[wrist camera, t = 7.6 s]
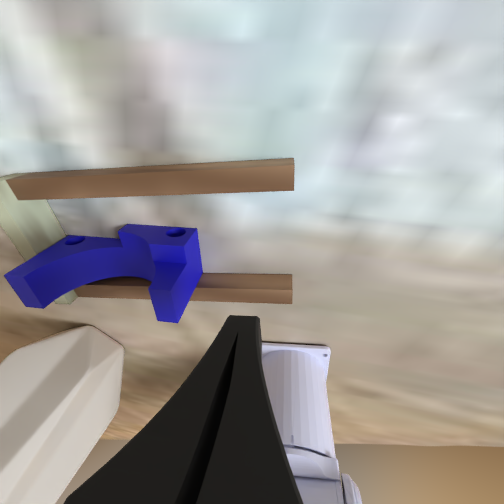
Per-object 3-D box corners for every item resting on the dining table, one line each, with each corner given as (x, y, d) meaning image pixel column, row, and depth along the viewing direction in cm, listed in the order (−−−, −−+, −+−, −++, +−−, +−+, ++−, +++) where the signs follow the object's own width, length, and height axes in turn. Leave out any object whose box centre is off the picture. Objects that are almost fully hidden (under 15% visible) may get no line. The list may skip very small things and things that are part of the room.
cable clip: (197, 227, 19) (165, 272, 14) (203, 271, 22) (178, 323, 17) (63, 219, 21) (-10, 257, 16) (82, 261, 23) (25, 306, 18)
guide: (291, 287, 21) (292, 313, 19) (79, 282, 24) (55, 303, 22) (293, 158, 15) (294, 169, 13) (14, 173, 19) (-28, 185, 16)
